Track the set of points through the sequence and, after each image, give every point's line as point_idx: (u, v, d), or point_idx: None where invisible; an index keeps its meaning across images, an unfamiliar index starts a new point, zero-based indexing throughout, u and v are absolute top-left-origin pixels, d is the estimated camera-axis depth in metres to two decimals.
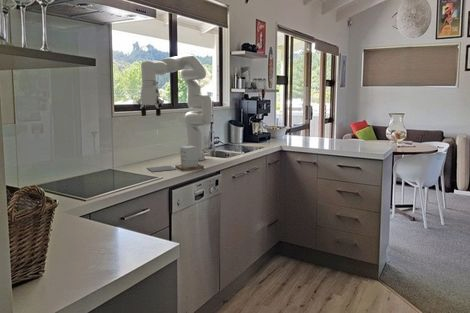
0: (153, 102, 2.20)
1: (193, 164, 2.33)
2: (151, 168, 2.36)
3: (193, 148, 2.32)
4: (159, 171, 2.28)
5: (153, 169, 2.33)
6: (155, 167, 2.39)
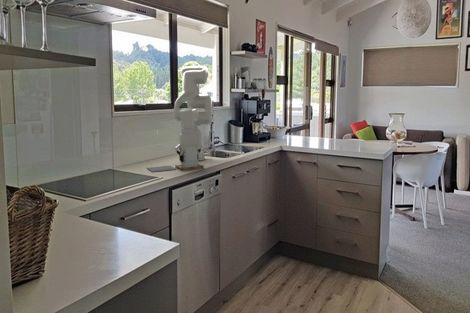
0: None
1: (193, 164, 2.33)
2: (151, 168, 2.36)
3: (193, 148, 2.32)
4: (159, 171, 2.28)
5: (153, 169, 2.33)
6: (155, 167, 2.39)
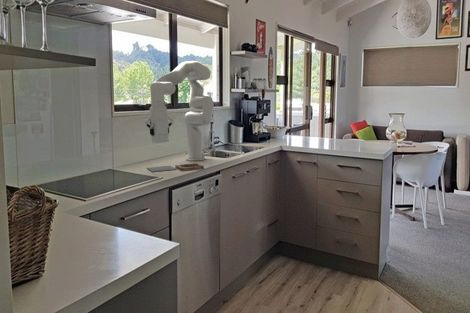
0: None
1: (163, 137, 2.30)
2: (151, 168, 2.36)
3: (163, 121, 2.29)
4: (159, 171, 2.28)
5: (153, 169, 2.33)
6: (155, 167, 2.39)
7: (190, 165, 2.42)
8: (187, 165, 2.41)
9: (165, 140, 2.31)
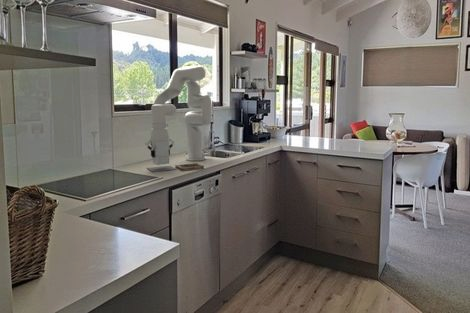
0: None
1: (164, 159, 2.32)
2: (151, 168, 2.36)
3: (164, 143, 2.31)
4: (159, 171, 2.28)
5: (153, 169, 2.33)
6: (155, 167, 2.39)
7: (190, 165, 2.42)
8: (187, 165, 2.41)
9: (166, 162, 2.33)
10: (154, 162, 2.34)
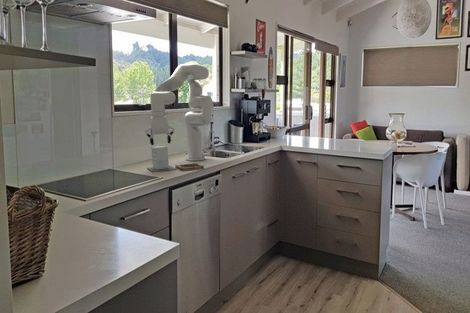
0: (166, 131, 2.32)
1: (163, 164, 2.32)
2: (151, 168, 2.36)
3: (163, 148, 2.31)
4: (159, 171, 2.28)
5: (153, 169, 2.33)
6: None
7: (190, 165, 2.42)
8: (187, 165, 2.41)
9: (165, 166, 2.33)
10: (154, 167, 2.35)
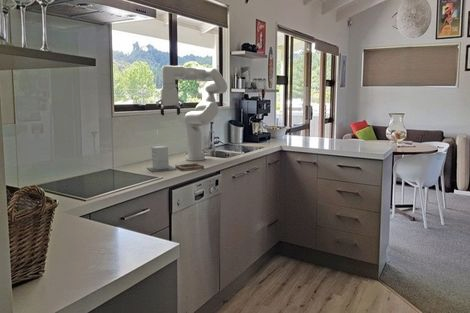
0: (176, 102, 2.47)
1: (163, 164, 2.32)
2: (151, 168, 2.36)
3: (163, 148, 2.31)
4: (159, 171, 2.28)
5: (153, 169, 2.33)
6: None
7: (190, 165, 2.42)
8: (187, 165, 2.41)
9: (165, 167, 2.33)
10: (154, 167, 2.35)
